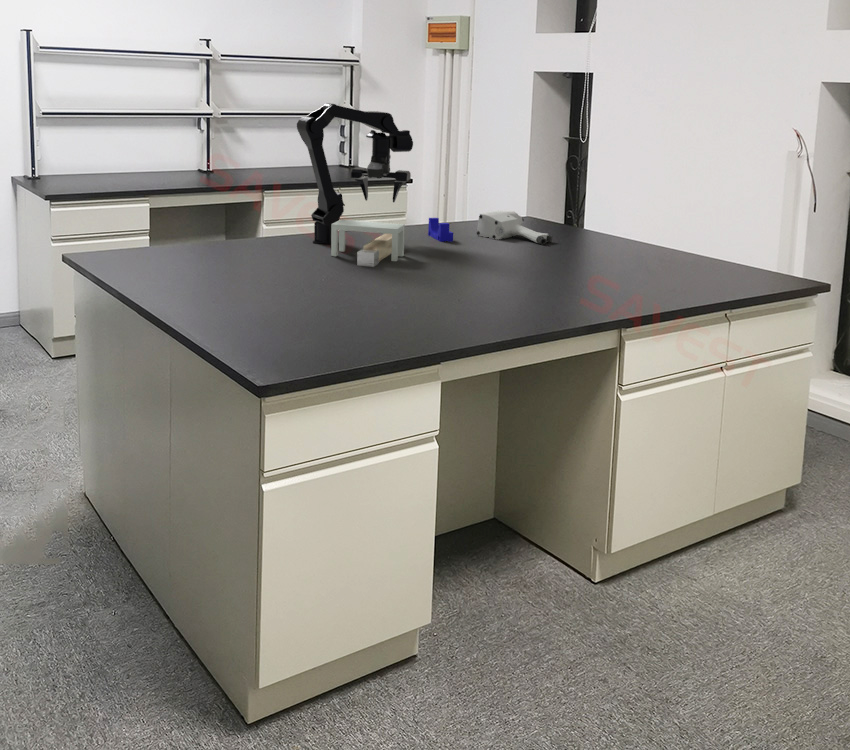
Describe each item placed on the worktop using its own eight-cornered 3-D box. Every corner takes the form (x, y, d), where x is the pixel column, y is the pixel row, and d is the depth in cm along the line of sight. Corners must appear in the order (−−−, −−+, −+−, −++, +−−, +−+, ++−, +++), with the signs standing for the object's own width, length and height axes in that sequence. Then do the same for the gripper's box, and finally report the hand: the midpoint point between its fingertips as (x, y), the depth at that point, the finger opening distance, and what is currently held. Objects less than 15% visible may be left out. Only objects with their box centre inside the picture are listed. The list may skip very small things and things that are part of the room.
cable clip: (452, 241, 324) (453, 223, 322) (440, 242, 323) (440, 223, 321) (440, 235, 335) (441, 217, 333) (428, 235, 334) (428, 217, 332)
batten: (363, 263, 288) (363, 246, 286) (386, 247, 311) (387, 232, 310) (376, 264, 287) (376, 247, 286) (399, 248, 310) (399, 233, 309)
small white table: (331, 255, 294) (331, 224, 291) (340, 250, 303) (340, 219, 300) (396, 261, 290) (397, 229, 287) (403, 255, 299) (404, 224, 296)
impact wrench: (574, 231, 337) (515, 204, 349) (540, 239, 320) (478, 211, 332) (567, 252, 341) (509, 226, 352) (533, 262, 323) (472, 234, 335)
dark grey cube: (357, 265, 283) (357, 252, 282) (362, 262, 288) (362, 248, 287) (373, 267, 282) (374, 253, 281) (378, 263, 287) (379, 250, 286)
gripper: (345, 152, 311) (345, 202, 315) (403, 156, 307) (401, 206, 312) (355, 149, 321) (355, 198, 326) (411, 153, 317) (410, 202, 322)
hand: (380, 201), depth 321 cm, fingers open, 9 cm apart
